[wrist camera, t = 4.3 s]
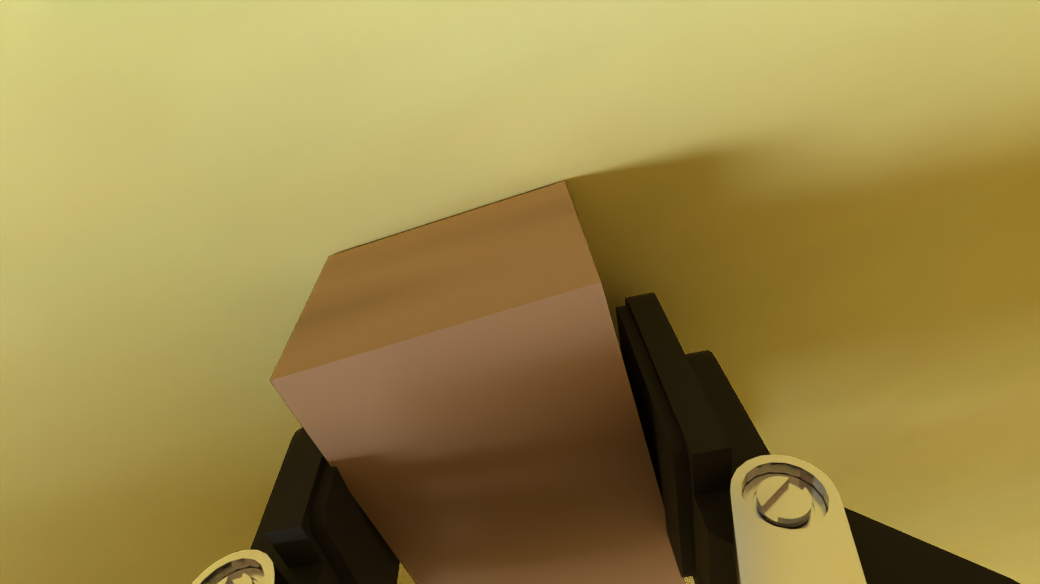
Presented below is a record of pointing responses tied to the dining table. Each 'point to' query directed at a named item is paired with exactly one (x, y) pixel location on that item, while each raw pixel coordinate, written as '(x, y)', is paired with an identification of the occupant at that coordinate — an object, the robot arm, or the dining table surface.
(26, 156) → the dining table surface
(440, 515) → the brown rectangular block
